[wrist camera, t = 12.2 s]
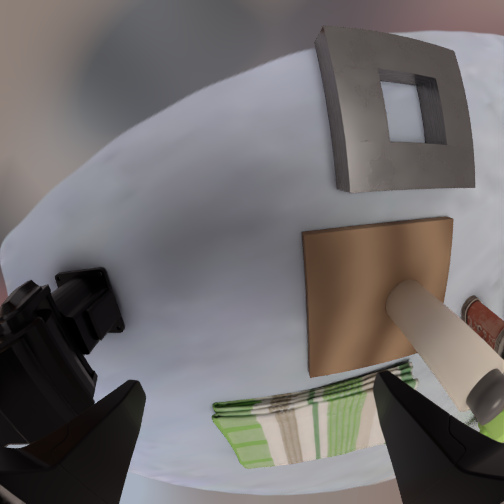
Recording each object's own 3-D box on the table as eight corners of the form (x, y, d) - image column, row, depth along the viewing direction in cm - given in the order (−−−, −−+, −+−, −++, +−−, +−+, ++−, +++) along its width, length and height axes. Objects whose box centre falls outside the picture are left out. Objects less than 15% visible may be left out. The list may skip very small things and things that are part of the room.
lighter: (457, 308, 23) (511, 358, 13) (477, 289, 22) (532, 333, 13) (466, 347, 25) (506, 394, 15) (483, 330, 24) (525, 373, 14)
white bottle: (377, 313, 21) (461, 435, 8) (401, 273, 20) (511, 377, 7) (407, 324, 22) (487, 429, 8) (429, 288, 21) (528, 380, 7)
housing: (337, 188, 19) (350, 192, 16) (314, 42, 16) (323, 25, 13) (454, 183, 19) (475, 187, 16) (435, 59, 15) (454, 51, 12)
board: (308, 371, 25) (310, 377, 24) (301, 231, 20) (304, 235, 19) (428, 342, 24) (432, 347, 23) (446, 216, 20) (453, 218, 19)
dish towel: (393, 430, 30) (400, 447, 27) (246, 463, 32) (245, 481, 28) (411, 353, 25) (424, 372, 22) (209, 398, 27) (205, 421, 23)
